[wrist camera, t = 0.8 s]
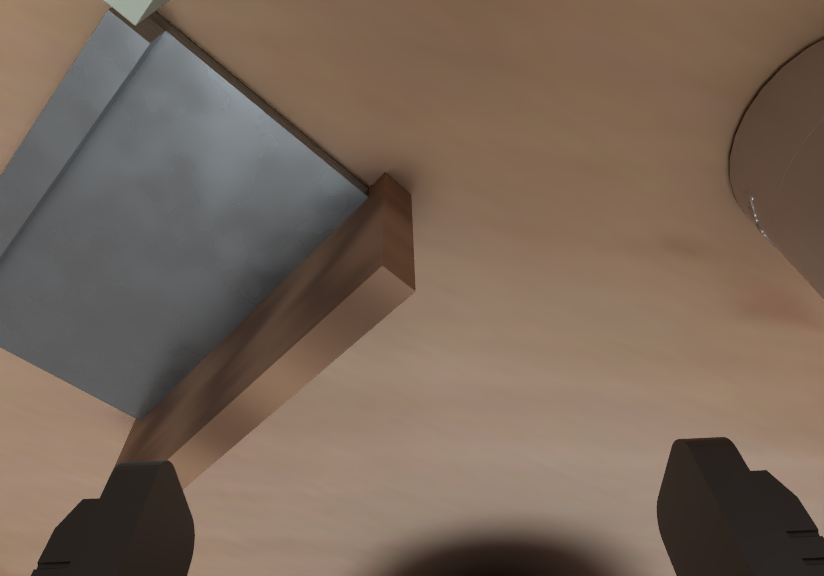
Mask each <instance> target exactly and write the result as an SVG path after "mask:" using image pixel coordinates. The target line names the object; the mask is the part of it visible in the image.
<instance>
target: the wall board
mask: <svg viewBox="0 0 824 576" xmlns="http://www.w3.org/2000/svg"><path fill="white" fill-rule="evenodd" d="M414 292H415V271H414V248H413V225H412V202H411V195H410V194H409V193H408V192H407V191H406V190H405V189H403V188H402V187H401V186H400V185H399V184H398V183H396V182H395V181H394V180H393V179H392V178H391V177H389V176H388V175H387V174H386V173H385V174H383V175H382V176H381V177H380V178H379V179H378V180H377V181H376V182H375V183H374V184H373V185H372V186H371V187H370V188H369V197H368V198H367V199H366V200H365V201H364V202H363V203H362V204H361V205H360V206H359V207H358V208H357V209H356V210H355V211H354V212H353V213H352V214H351V215H350V216H349V217H348V218H347V219H346V220H345V221H344V222H343V223H342V224H341V225H340V226H339V227H338V228H337V229H336V230H335V231H334V232H333V233H332V234H331V235H330V236H329V237H328V238H327V239H326V240H325V241H324V242H323V243H322V244H321V245H319V246H318V247H317V248H316V249H315V250H314V251H313V252H312V253H311V254H310V255H309V256H308V257H307V258H306V259H305V260H304V261H303V262H302V263H301V264H300V265H299V266H298V267H297V268H296V269H295V270H294V271H293V272H292V273H291V274H290V275H289V276H288V277H287V278H286V279H285V280H284V281H283V282H282V283H281V284H280V285H279V286H278V287H277V288H276V289H275V290H274V291H273V292H272V293H270V294H269V295H268V296H267V297H266V298H265V299H264V300H263V301H262V302H261V303H260V304H259V305H258V306H257V307H256V308H255V309H254V310H253V311H252V312H251V313H250V314H249V315H248V316H247V317H246V318H245V319H244V320H243V321H242V322H241V323H240V324H239V325H238V326H237V327H236V328H235V329H234V330H233V331H232V332H231V333H230V334H229V335H228V336H227V337H226V338H225V339H224V340H223V341H222V342H220V343H219V344H218V345H217V346H216V347H215V348H214V349H213V350H212V351H211V352H210V353H209V354H208V355H207V356H206V357H205V358H204V359H203V360H202V361H201V362H200V363H199V364H198V365H197V366H196V367H195V368H194V369H193V370H192V371H191V372H190V373H189V374H188V375H187V376H186V377H185V378H184V379H183V380H182V381H181V382H180V383H179V384H178V385H177V386H176V387H175V388H174V389H173V390H171V391H170V392H169V393H168V394H167V395H166V396H165V397H164V398H163V399H162V400H161V401H160V402H159V403H158V404H157V405H156V406H155V407H154V408H153V409H152V410H151V411H150V412H149V413H148V414H147V415H146V416H145V417H144V418H143V419H142V420H141V421H140V420H138V419H136V420H135V422H134V424H133V426H132V429H131V431H130V433H129V436H128V438H127V440H126V442H125V445H124V447H123V449H122V451H121V454H120V456H119V458H118V460H117V463H116V465H115V467H116V466H117V465H118V464H120V463H123V462H144V461H167V460H168V461H170V462H171V463H172V464H173V465H174V468H175V470H176V473H177V476H178V479H179V482H180V484H181V487H182V490H183V489H184V488H185V487H186V486H187V485H189V484H190V483H191V482H192V481H193V480H194V479H196V478H197V477H198V476H199V475H200V474H201V473H203V472H204V471H205V470H206V469H207V468H209V467H210V466H211V465H212V464H213V463H214V462H216V461H217V460H218V459H219V458H220V457H221V456H223V455H224V454H225V453H226V452H227V451H228V450H230V449H231V448H232V447H233V446H234V445H236V444H237V443H238V442H239V441H240V440H241V439H243V438H244V437H245V436H246V435H247V434H248V433H250V432H251V431H252V430H253V429H254V428H255V427H257V426H258V425H259V424H260V423H261V422H263V421H264V420H265V419H266V418H267V417H268V416H270V415H271V414H272V413H273V412H274V411H275V410H277V409H278V408H279V407H280V406H281V405H282V404H284V403H285V402H286V401H287V400H288V399H289V398H291V397H292V396H293V395H294V394H295V393H297V392H298V391H299V390H300V389H301V388H302V387H304V386H305V385H306V384H307V383H308V382H309V381H311V380H312V379H313V378H314V377H315V376H316V375H318V374H319V373H320V372H321V371H322V370H324V369H325V368H326V367H327V366H328V365H329V364H331V363H332V362H333V361H334V360H335V359H336V358H338V357H339V356H340V355H341V354H342V353H343V352H345V351H346V350H347V349H348V348H349V347H351V346H352V345H353V344H354V343H355V342H356V341H358V340H359V339H360V338H361V337H362V336H363V335H365V334H366V333H367V332H368V331H369V330H370V329H372V328H373V327H374V326H375V325H376V324H377V323H379V322H380V321H381V320H382V319H383V318H385V317H386V316H387V315H388V314H389V313H390V312H392V311H393V310H394V309H395V308H396V307H397V306H399V305H400V304H401V303H402V302H403V301H404V300H406V299H407V298H408V297H409V296H410V295H412V294H413V293H414ZM115 467H114V468H115ZM113 470H114V469H113Z"/></svg>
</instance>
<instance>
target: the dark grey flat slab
mask: <svg viewBox="0 0 824 576" xmlns="http://www.w3.org/2000/svg"><path fill="white" fill-rule="evenodd" d="M368 197H369V188H368V187H367V186H365V185H364V184H363V183H362V182H360V181H359V180H358V179H357V178H356V177H354V176H353V175H352V174H351V173H350V172H348V171H347V170H346V169H345V168H344V167H342V166H341V165H340V164H339V163H338V162H336V161H335V160H334V159H333V158H332V157H330V156H329V155H328V154H327V153H326V152H324V151H323V150H322V149H321V148H320V147H318V146H317V145H316V144H315V143H314V142H312V141H311V140H310V139H309V138H308V137H306V136H305V135H304V134H303V133H302V132H300V131H299V130H298V129H297V128H295V127H294V126H293V125H292V124H291V123H289V122H288V121H287V120H286V119H285V118H283V117H282V116H281V115H280V114H279V113H277V112H276V111H275V110H274V109H273V108H271V107H270V106H269V105H268V104H267V103H265V102H264V101H263V100H262V99H261V98H259V97H258V96H257V95H256V94H255V93H253V92H252V91H251V90H250V89H249V88H247V87H246V86H245V85H244V84H243V83H241V82H240V81H239V80H238V79H237V78H235V77H234V76H233V75H232V74H230V73H229V72H228V71H227V70H226V69H224V68H223V67H222V66H221V65H220V64H218V63H217V62H216V61H215V60H214V59H212V58H211V57H210V56H209V55H208V54H206V53H205V52H204V51H203V50H202V49H200V48H199V47H198V46H197V45H196V44H194V43H193V42H192V41H191V40H190V39H188V38H187V37H186V36H185V35H184V34H182V33H181V32H180V31H179V30H178V29H176V28H175V27H174V26H173V25H171V24H170V23H169V22H168V21H167V20H165V19H164V18H163V17H162V16H161V15H159V14H158V13H157V12H156V11H154V12H153V13H152V14H150V15H149V16H148V17H146V18H145V19H144V20H142V21H141V22H140V23H138V24H137V25H136V26H135V25H134V24H133V23H131V22H130V21H129V20H128V19H126V18H125V17H124V16H123V15H121V14H120V13H119V12H118V11H116V10H115V9H114V8H113V7H112V8H110V9H109V10H108V11H107V12H106V14H105V15H104V17H103V18H102V20H101V22H100V23H99V25H98V26H97V28H96V29H95V31H94V32H93V34H92V35H91V37H90V39H89V40H88V42H87V43H86V45H85V46H84V48H83V49H82V51H81V52H80V54H79V55H78V57H77V59H76V60H75V62H74V63H73V65H72V66H71V68H70V69H69V71H68V72H67V74H66V76H65V77H64V79H63V80H62V82H61V83H60V85H59V86H58V88H57V89H56V91H55V92H54V94H53V96H52V97H51V99H50V100H49V102H48V103H47V105H46V106H45V108H44V109H43V111H42V113H41V114H40V116H39V117H38V119H37V120H36V122H35V123H34V125H33V126H32V128H31V130H30V131H29V133H28V134H27V136H26V137H25V139H24V140H23V142H22V143H21V145H20V146H19V148H18V150H17V151H16V153H15V154H14V156H13V157H12V159H11V160H10V162H9V163H8V165H7V167H6V168H5V170H4V171H3V173H2V174H1V176H0V347H1V348H3V349H5V350H6V351H8V352H10V353H12V354H14V355H16V356H18V357H20V358H22V359H24V360H26V361H27V362H29V363H31V364H33V365H35V366H37V367H39V368H41V369H43V370H45V371H47V372H48V373H50V374H52V375H54V376H56V377H58V378H60V379H62V380H64V381H66V382H68V383H69V384H71V385H73V386H75V387H77V388H79V389H81V390H83V391H85V392H87V393H88V394H90V395H92V396H94V397H96V398H98V399H100V400H102V401H104V402H106V403H108V404H109V405H111V406H113V407H115V408H117V409H119V410H121V411H123V412H125V413H127V414H129V415H130V416H132V417H134V418H136V419H138V420H140V421H141V420H142V419H143V418H144V417H145V416H146V415H147V414H148V413H149V412H150V411H151V410H152V409H153V408H154V407H155V406H156V405H157V404H158V403H159V402H160V401H161V400H162V399H163V398H164V397H165V396H166V395H167V394H168V393H169V392H170V391H171V390H173V389H174V388H175V387H176V386H177V385H178V384H179V383H180V382H181V381H182V380H183V379H184V378H185V377H186V376H187V375H188V374H189V373H190V372H191V371H192V370H193V369H194V368H195V367H196V366H197V365H198V364H199V363H200V362H201V361H202V360H203V359H204V358H205V357H206V356H207V355H208V354H209V353H210V352H211V351H212V350H213V349H214V348H215V347H216V346H217V345H218V344H219V343H220V342H222V341H223V340H224V339H225V338H226V337H227V336H228V335H229V334H230V333H231V332H232V331H233V330H234V329H235V328H236V327H237V326H238V325H239V324H240V323H241V322H242V321H243V320H244V319H245V318H246V317H247V316H248V315H249V314H250V313H251V312H252V311H253V310H254V309H255V308H256V307H257V306H258V305H259V304H260V303H261V302H262V301H263V300H264V299H265V298H266V297H267V296H268V295H269V294H270V293H272V292H273V291H274V290H275V289H276V288H277V287H278V286H279V285H280V284H281V283H282V282H283V281H284V280H285V279H286V278H287V277H288V276H289V275H290V274H291V273H292V272H293V271H294V270H295V269H296V268H297V267H298V266H299V265H300V264H301V263H302V262H303V261H304V260H305V259H306V258H307V257H308V256H309V255H310V254H311V253H312V252H313V251H314V250H315V249H316V248H317V247H318V246H319V245H321V244H322V243H323V242H324V241H325V240H326V239H327V238H328V237H329V236H330V235H331V234H332V233H333V232H334V231H335V230H336V229H337V228H338V227H339V226H340V225H341V224H342V223H343V222H344V221H345V220H346V219H347V218H348V217H349V216H350V215H351V214H352V213H353V212H354V211H355V210H356V209H357V208H358V207H359V206H360V205H361V204H362V203H363V202H364V201H365V200H366V199H367V198H368Z"/></svg>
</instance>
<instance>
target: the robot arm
mask: <svg viewBox="0 0 824 576" xmlns="http://www.w3.org/2000/svg"><path fill="white" fill-rule="evenodd" d="M730 182H731V185H732V189H733V193H734V197H735V198H736V200H737V202H738V203H739V205H740V207H741V208H742V210H743V212H744V213H745V214H746V215H747V216H748V217H749V218H750V219H751V220H752V222H753V223H754V224H755V225H756V227H757V228H758V230H759V231H760V232H761V233H762V234H763V235H764V236H765V237H766V238H767V239H768V241H769V242H770V243H771V244H773V246H775V247H776V248H777V249H778V250H779V251H780V252H781V253H782V254H783V255H784V256H785V257H786V258H787V259H788V261H789V262H790V263H791V264H792V265H793V266H794V267H795V268H796V270H797V271H798V272H799V273H800V274H801V275H802V276H803V277H804V278H805V279H806V280H807V281H808V283H809V284H810V285H811V286H812V287H813V288H814V289H815V290H816V291H817V292H818V293H819V294H820V296H821V297H822V298H823V299H824V39H823V40H821V41H819V42H818V43H816V44H814V45H812V46H810V47H809V48H807V49H805V50H804V51H803V52H802V53H800V54H799V55H798V56H796V57H795V58H794V59H793V60H791V61H790V62H789V63H788V64H786V65H785V66H784V67H782V68H781V69H780V70H779V72H778V73H777V74H776V75H775V76H774V77H773V78H772V79H771V80H770V81H769V82H768V83H767V84H766V85H765V86H764V87H763V88H762V90H761V91H760V92H759V94H758V95H757V97H756V98H755V100H754V101H753V103H752V104H751V106H750V107H749V108H748V110H747V111H746V113H745V115H744V117H743V120H742V122H741V124H740V126H739V128H738V131H737V133H736V135H735V138H734V143H733V147H732V151H731V155H730ZM657 519H658V525H659V530H660V534H661V537H662V540H663V543H664V545H665V548H666V550H667V553H668V555H669V558H670V560H671V563H672V565H673V568H674V570H675V573H676V575H677V576H824V538H823V536H819V533H818V528H817V527H816V525H815V524H814V522H813V521H812V519H811V517H810V516H809V514H808V513H807V511H806V510H805V508H804V506H803V505H802V503H801V502H800V500H799V499H798V497H797V496H795V495H794V494H793V493H792V492H791V491H790V490H789V489H787V488H786V487H785V486H784V485H783V484H782V483H781V482H779V481H778V480H777V479H776V478H775V477H774V476H772V475H771V474H770V473H769V472H768V471H767V470H763V471H750V470H749V468H748V467H747V465H746V463H745V461H744V460H743V458H742V456H741V455H740V453H739V451H738V450H737V448H736V447H735V445H734V444H733V443H732V441H731V440H729V439H728V438H725V437H716V438H694V439H678V440H676V441H675V442H674V443H673V445H672V448H671V452H670V455H669V459H668V463H667V466H666V470H665V474H664V478H663V481H662V485H661V489H660V492H659V496H658V500H657ZM194 538H195V533H194V522H193V518H192V515H191V512H190V510H189V507H188V504H187V501H186V498H185V496H184V493H183V490H182V487H181V484H180V482H179V479H178V476H177V473H176V470H175V468H174V465H173V464H172V463H171V462H170V461H168V460H167V461H144V462H123V463H120V464H118V465H117V466H116V467H115V468H114V470H113V471H112V473H111V475H110V477H109V480H108V482H107V484H106V486H105V488H104V490H103V493H102V495H101V497H100V499H83V500H82V501H81V502H80V503H79V504H78V505H77V506H76V507H75V508H74V509H73V510H72V511H71V512H70V513H69V514H68V515H67V516H66V518H65V519H64V520H63V521H62V522H61V523H60V524H59V525H58V526H57V527H56V528H55V529H54V531H53V533H52V535H51V537H50V539H49V541H48V543H47V545H46V547H45V549H44V551H43V553H42V555H41V557H40V559H39V561H38V567H37V569H36V570H34V571H33V573H32V575H31V576H187V574H188V570H189V567H190V563H191V560H192V555H193V550H194Z"/></svg>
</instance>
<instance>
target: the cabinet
mask: <svg viewBox="0 0 824 576" xmlns="http://www.w3.org/2000/svg"><path fill="white" fill-rule="evenodd" d="M104 1H105V2H107V3H108V4H109V5H110V6H112V7H113V8H114V9H115V10H116V11H118V12H119V13H120V14H121V15H123V16H124V17H125V18H126V19H128V20H129V21H130V22H131V23H133V24H134V25H135V26H136V25H137V24H138V23H140V22H141V21H142V20H144V19H145V18H146V17H148V16H149V15H150V14H152V13H153V12H154V11H156V10H157V9H159V8H160V7H161V6H163V5H164V4H165V3H167V2H168V1H169V0H104Z"/></svg>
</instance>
